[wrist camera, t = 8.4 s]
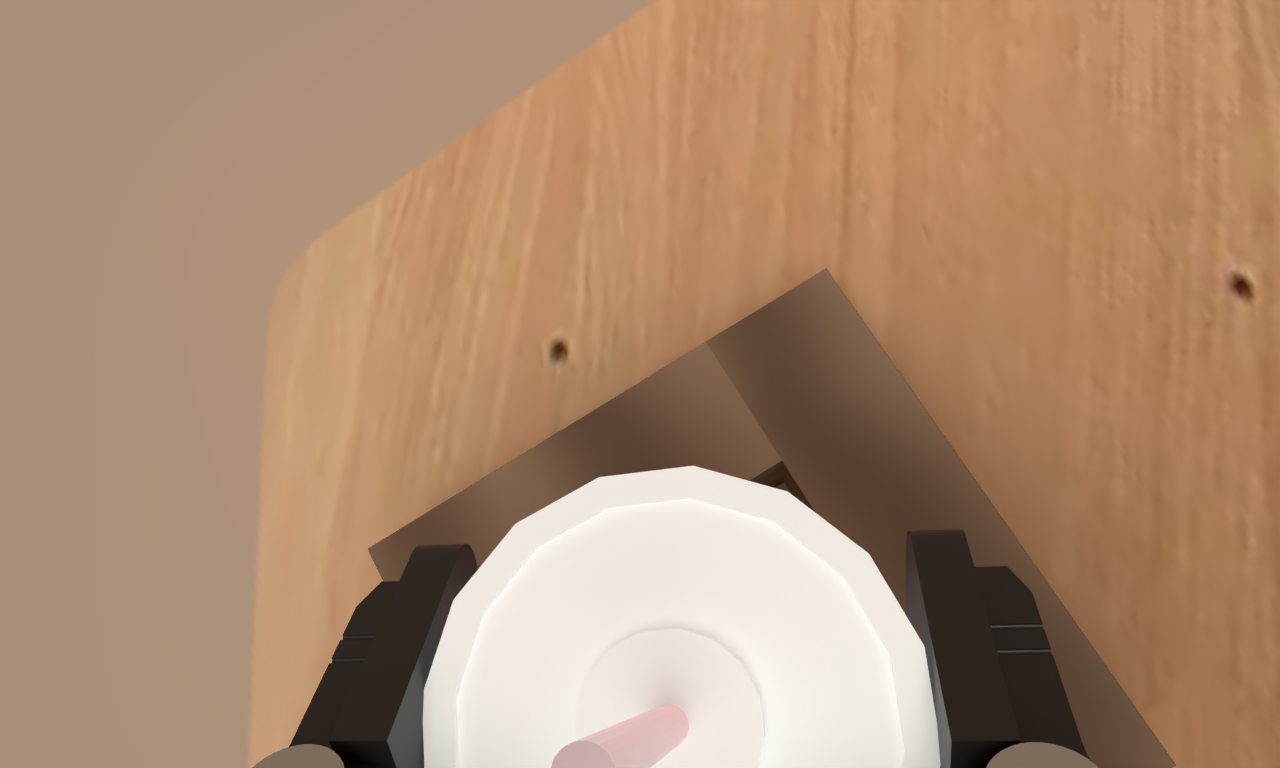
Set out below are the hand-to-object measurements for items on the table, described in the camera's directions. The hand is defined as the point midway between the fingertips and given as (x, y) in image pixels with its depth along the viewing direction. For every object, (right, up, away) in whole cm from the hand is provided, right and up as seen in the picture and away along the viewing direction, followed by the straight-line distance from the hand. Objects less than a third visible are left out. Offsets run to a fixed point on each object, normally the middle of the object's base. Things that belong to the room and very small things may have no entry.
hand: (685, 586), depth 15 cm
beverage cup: (+1, -3, +6) cm, 7 cm away
